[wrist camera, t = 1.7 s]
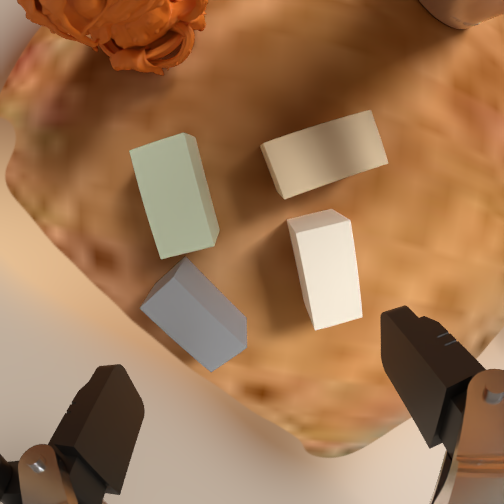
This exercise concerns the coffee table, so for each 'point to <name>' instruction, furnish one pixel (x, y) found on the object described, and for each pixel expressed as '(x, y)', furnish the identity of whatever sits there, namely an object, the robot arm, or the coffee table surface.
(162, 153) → the sage brick
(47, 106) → the coffee table surface
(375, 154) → the oak brick
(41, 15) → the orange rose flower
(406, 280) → the coffee table surface
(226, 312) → the slate brick
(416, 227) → the coffee table surface
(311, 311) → the cream brick
